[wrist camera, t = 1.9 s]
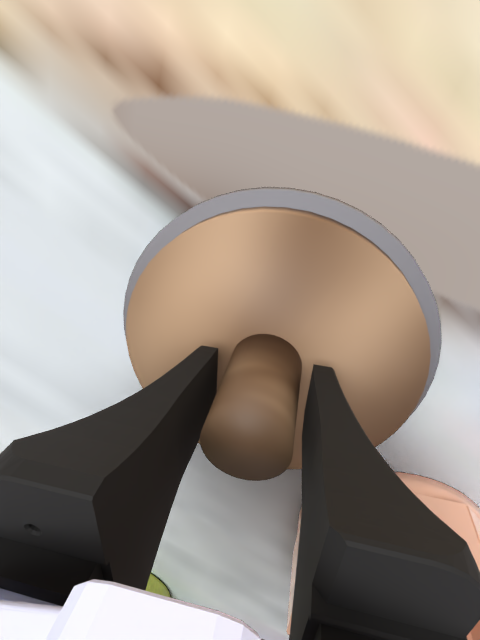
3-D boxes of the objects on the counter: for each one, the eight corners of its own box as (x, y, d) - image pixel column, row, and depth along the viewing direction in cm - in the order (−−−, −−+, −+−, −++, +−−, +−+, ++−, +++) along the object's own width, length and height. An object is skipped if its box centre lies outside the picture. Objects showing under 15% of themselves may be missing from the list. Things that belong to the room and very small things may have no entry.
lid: (475, 227, 11) (563, 297, 7) (381, 476, 16) (398, 599, 12) (122, 189, 12) (21, 227, 8) (144, 427, 18) (89, 521, 14)
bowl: (526, 497, 16) (588, 620, 12) (453, 601, 20) (482, 716, 16) (312, 453, 17) (308, 552, 13) (288, 560, 22) (279, 657, 18)
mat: (493, 208, 11) (500, 212, 11) (388, 477, 17) (390, 486, 16) (114, 170, 13) (106, 172, 12) (140, 425, 19) (135, 433, 18)
